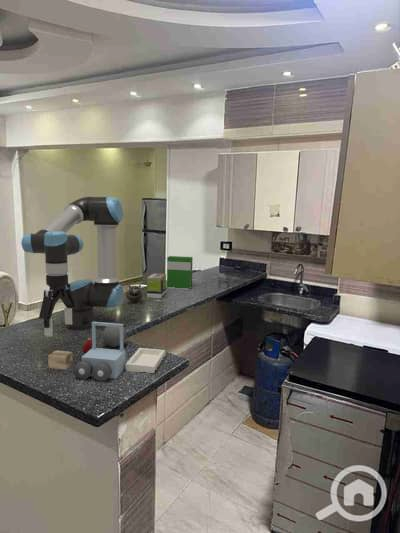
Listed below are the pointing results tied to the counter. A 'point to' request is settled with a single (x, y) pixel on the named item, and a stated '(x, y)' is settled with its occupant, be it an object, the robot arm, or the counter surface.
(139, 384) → the counter surface
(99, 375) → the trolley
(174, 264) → the hardback book
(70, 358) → the block
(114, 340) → the decorative ball
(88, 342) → the red rounded piece
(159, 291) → the tea box
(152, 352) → the tray
